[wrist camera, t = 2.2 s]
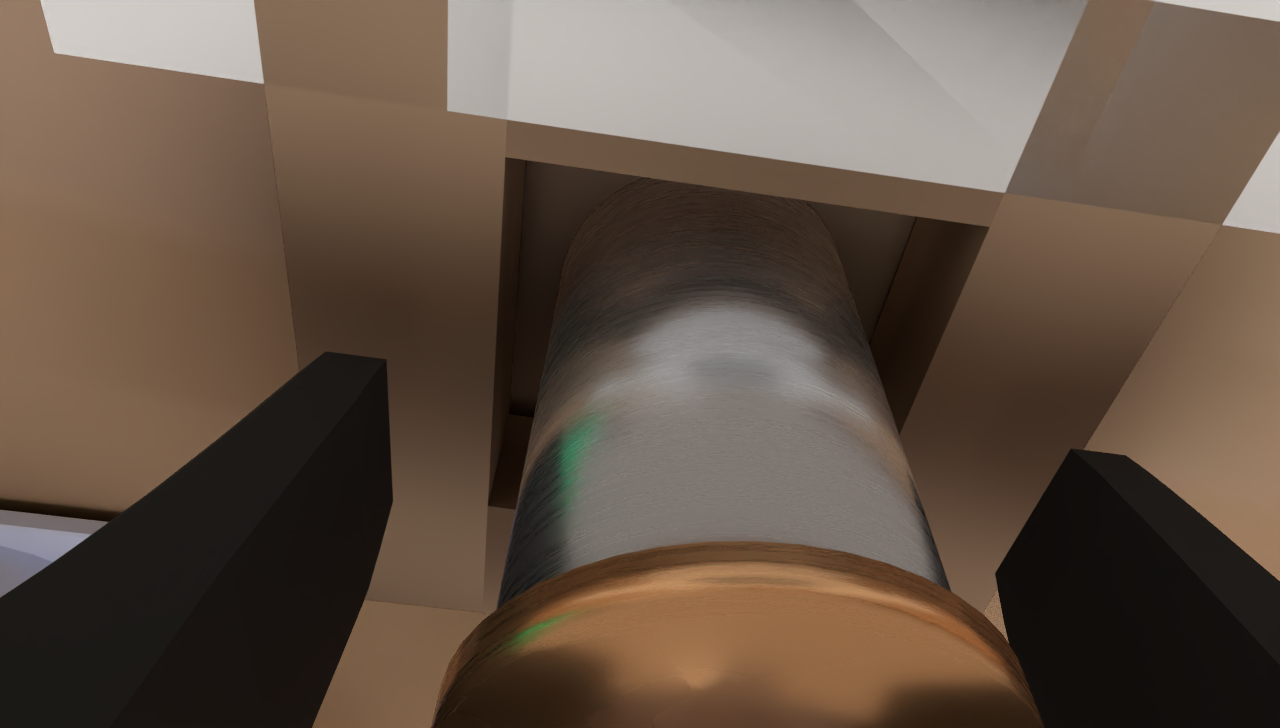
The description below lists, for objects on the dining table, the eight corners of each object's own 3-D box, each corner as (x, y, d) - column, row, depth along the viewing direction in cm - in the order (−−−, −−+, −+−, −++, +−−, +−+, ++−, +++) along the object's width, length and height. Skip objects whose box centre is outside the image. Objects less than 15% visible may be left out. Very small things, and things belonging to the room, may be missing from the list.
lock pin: (814, 437, 14) (926, 955, 8) (529, 400, 13) (423, 913, 7) (909, 171, 11) (1188, 665, 5) (553, 118, 11) (414, 580, 5)
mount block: (921, 566, 15) (951, 663, 14) (364, 502, 15) (327, 595, 13) (1225, -18, 9) (1340, 32, 8) (314, -171, 9) (235, -150, 7)
